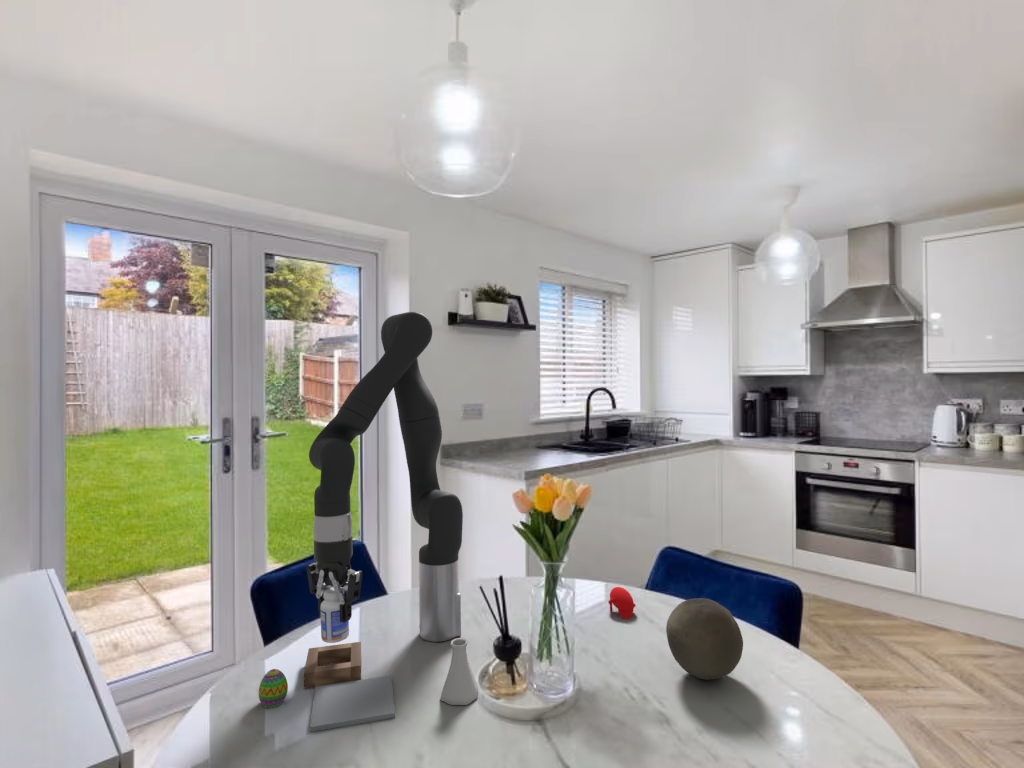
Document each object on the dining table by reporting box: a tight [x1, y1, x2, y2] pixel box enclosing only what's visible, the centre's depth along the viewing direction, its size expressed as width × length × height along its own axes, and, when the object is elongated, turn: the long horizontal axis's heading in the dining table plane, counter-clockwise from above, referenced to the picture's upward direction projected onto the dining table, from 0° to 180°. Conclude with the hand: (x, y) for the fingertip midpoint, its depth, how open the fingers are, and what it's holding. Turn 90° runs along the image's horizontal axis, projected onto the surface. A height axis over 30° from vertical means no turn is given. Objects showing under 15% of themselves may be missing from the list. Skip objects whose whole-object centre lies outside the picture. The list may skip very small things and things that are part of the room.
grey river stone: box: [665, 597, 744, 681], centre depth 106 cm, size 14×14×15 cm
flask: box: [439, 637, 479, 706], centre depth 101 cm, size 7×7×10 cm
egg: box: [258, 668, 289, 709], centre depth 99 cm, size 5×5×6 cm
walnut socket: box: [303, 641, 362, 690], centre depth 110 cm, size 11×11×3 cm
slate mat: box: [309, 674, 396, 733], centre depth 99 cm, size 14×13×1 cm
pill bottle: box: [320, 586, 350, 644], centre depth 110 cm, size 5×5×10 cm
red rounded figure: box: [608, 586, 636, 620], centre depth 137 cm, size 8×6×6 cm
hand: (334, 617), depth 110 cm, fingers closed on pill bottle, 5 cm apart
